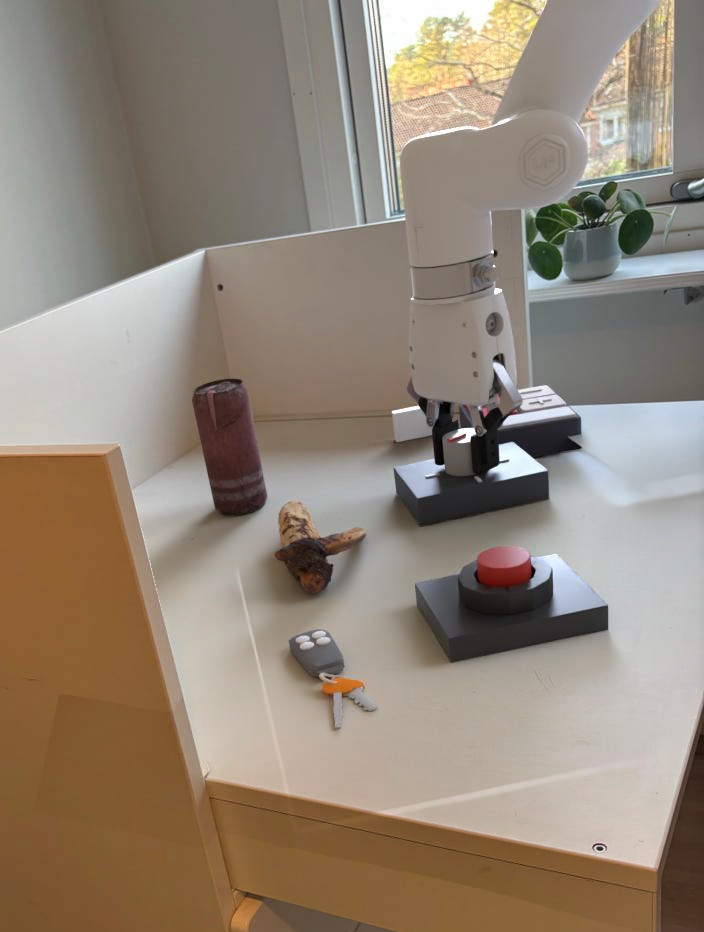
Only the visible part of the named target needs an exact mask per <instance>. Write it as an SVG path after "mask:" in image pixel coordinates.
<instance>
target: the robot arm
mask: <svg viewBox="0 0 704 932" xmlns="http://www.w3.org/2000/svg"><path fill="white" fill-rule="evenodd" d="M661 2H662V0H546V1H545V4H544V6H543V8H542V10H541V12H540V14H539V16H538V18H537V21H536V22H535V25H534V27H533V29H532V31H531V33H530V35H529V37H528V38H527V41H526V44H525V45H524V48H523V50H522V52H521V53H520V56H519V59H518V60H517V63H516V65H515V66H514V67H515V68H514V70H513V72H512V74H511V76H510V79H509V82H508V83H507V85H506V87H505V90H504V93H503V95H502V98H501V99H500V102H499V104H498V106H497V109H496V111H495V114H494V116H493V118H492V120H491V123H490V125H489V126H487V127H484V128H480V129H479V128H478V127H473V126H460V127H455V128H451V129H450V128H448V129H444V130H439V131H434V132H431V133H426V134H422V135H419V136H417V137H414V138H411V139H410V140H408V141H407V142H406V143H405V144H404V145H403V147H402V148H401V151H400V155H399V166H400V167H399V168H400V171H399V172H400V179H401V180H400V181H401V190H402V200H403V207H404V209H403V211H404V219H405V231H406V240H407V241H406V242H407V251H408V264H409V271H410V282H411V292H412V293H411V294H412V297H411V298H410V304H409V317H408V349H409V350H408V351H409V365H410V375H411V377H410V379H409V381H408V384H407V386H406V392H407V394H408V395H409V396H410V397H411V398H412V399H413V400H414V401H415V402H416V403H417V404H418V405H417V406H419V407H420V409H421V410H422V411H423V413H424V414H425V415H426V423H427V425H428V426H429V427H433V428H432V435H431V436H432V445H433V446H432V448H433V457H434V458H433V459H435V464H436V465H439V466H442V465H444V452H443V441H442V438H443V436H444V435H445V434H447V433H449V432H451V431H455V430H458V429H460V422H459V419H456V418H454V415H455V406H456V405H455V404H458V405H459V404H465V405H468V407H469V411H470V415H471V419H472V423H473V427H474V431H475V433H476V434H474V435H472V436H471V438H470V442H471V455H472V469H473V472H474V473H475V474H482V473H484V472H486V471H488V470H490V469H492V468H494V467H497V466H498V465H499V463H500V458H499V442H498V428H501V427H502V426H503V422H504V421H505V420H506V419H507V417H508V416H509V415H510V413H512V412H513V411H515V410H516V409H517V408H518V407H520V406H521V405H522V404H523V399H522V397H521V395H520V394H519V392H518V390H519V389H517V386H518V377H517V376H518V374H517V373H518V372H517V360H516V351H515V343H514V336H513V329H512V324H511V320H510V313H509V310H508V305H507V302H506V298H505V295H504V292H503V289H501V288H496V282H497V281H498V280H499V279H500V276H501V270H500V267H499V266H497V265H495V261H494V259H495V257H494V242H493V241H494V239H493V222H492V212H494V211H495V212H496V211H512V210H513V211H514V210H516V211H517V210H534V209H540V208H546V207H548V206H551V205H554V204H556V203H557V202H560V201H561V200H562V199H564V198H565V197H566V196H568V195H569V194H570V193H571V192H572V191H573V190H574V189H575V187H576V186H577V185H578V184H579V183H580V181H581V179H582V177H583V176H584V173H585V170H586V166H587V162H588V156H589V154H588V152H589V151H588V149H589V148H588V143H587V142H588V141H587V138H586V135H585V133H584V131H583V129H582V128H581V127H580V125H579V123H580V122H581V121H580V120H581V119H582V117H583V115H584V113H585V110H586V109H587V106H588V105H589V103H590V100H591V98H592V97H593V95H594V92H595V91H596V89H597V87H598V85H599V83H600V82H601V80H602V78H603V76H604V74H605V72H606V71H607V69H608V68H609V66H610V65H611V63H612V61H613V60H614V59H615V57H616V55H617V54H618V53H619V52H620V50H621V49H622V48H623V47H624V45H625V44H626V43H627V41H628V40H629V39H630V38H631V36H632V35H633V34H634V33H635V32H636V31H637V30H638V29H639V28H640V27H641V26H643V24H644V23H645V22H646V21H647V20H648V19H649V18H650V16H651V15H652V14H653V13H654V11H655V10H656V9H657V8H658V7H659V5H660V4H661ZM497 394H498V396H499V398H500V403H499V402H498V398H497ZM485 406H486V408H487V412H488V414H487V415H486V416H485V418H484V414H483V410H482V407H485Z"/></svg>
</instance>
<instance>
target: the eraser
mask: <svg viewBox="0 0 704 932" xmlns="http://www.w3.org/2000/svg"><path fill="white" fill-rule="evenodd" d="M391 418H392V419H391V420H392V426H393V435H394V440H395V442H396V443H400V442H405V441H410V440H411V441H412V440H416V439H421V438H426V437H430V436H432V428H433V427H429V426H428V425H427V423H426V415H425V414H424V413H423V411H422V410H421V409H420V407H419V405H416V406H410V407H405V408H400V409H396V410H391Z"/></svg>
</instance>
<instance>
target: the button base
mask: <svg viewBox="0 0 704 932" xmlns="http://www.w3.org/2000/svg"><path fill="white" fill-rule="evenodd" d="M531 574H532V575H531V578H530V579H529V580H528V581H526V582H524V583H523V584H519V585H514V586H509V587H490V586H487V585H484V584H481V583H480V582H479V580H478V571H477V559H475V560H473V561H472V562H470V563H468V564H466V565H464V566H463V567H462V568H461V570H460V572H459V573H457V574H452V575H447V576H443V577H437V578H433V579H430V580H424V581H419V582H415V583H414V591H415V601H416V606H417V608H418V610H419V611H420V613H421V615H422V617H423V619H424V620H425V622H426V623H427V625H428V627H429V629H430V631H431V632H432V633H433V635H434V637H435V638H436V640H437V642H438V644H439V645H440V647H441V649H442V650H443V652H444V654H445V655H446V657H447V658H448V660H449V662H450V663H451V664H452V663H457V662H461V661H466V660H467V661H468V660H471V659H476V658H480V657H486V656H491V655H496V654H500V653H506V652H511V651H514V650H519V649H524V648H529V647H533V646H538V645H543V644H547V643H553V642H559V641H563V640H566V639H571V638H577V637H582V636H585V635H591V634H595V633H599V632H605V631H608V630H609V604H608V603H607V602H606V601H605V600H604V599H603V598H602V597H601V596H600V595H599V594H598V593H597V592H596V591H595V590H594V589H593V588H592V587H591V586H590V585H589V584H588V583H587V582H586V581H585V580H584V579H583V578H582V577H581V576H580V575H579V574H578V573H577V571H575V570H574V569H573V568H571V566H570V565H569V564H568V563H567V562H566V561H565V560H564V559H563V558H562V557H561V556H560V555H559V554H558V553H556V552H555V553H550V554H546V555H542V556H537V557H536V556H534V555H531Z"/></svg>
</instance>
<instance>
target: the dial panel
mask: <svg viewBox="0 0 704 932" xmlns="http://www.w3.org/2000/svg"><path fill="white" fill-rule="evenodd" d="M499 458H500V463H499V465H498V466H497V467H494V468H492V469H490V470H488V471H486V472H484V473H482V474H475V475H470V476H453V475H449V474H447V473H446V472H445V464H444V465H442V466H439V465H436V464H435V459H434V458H430V459H426V460H421V461H418V462H417V461H416V462H412V463H408V464H403V465H398V466H393V468H392V469H393V477H394V484H395V485H394V486H395V494H396V495H397V496H398V498H399V499H400V500H401V502H402V503H403V504H404V506H405V507H406V509H407V510H408V511H409V513H410V515H411V516H412V517H413V519H414V520H415V521H416V523H417V524H418V525H419V527H424V525H425V526H428V525H433V523H434V524H438V523H437V522H439V523H442V522H443V523H444V522H447V520H448V521H453V520H456V519H462V518H466V517H472V516H475V515H480V514H481V515H482V514H485V513H490V512H494V511H500V510H504V509H509V508H512V507H518V506H523V505H527V504H532V503H536V502H542V501H546V500H550V483H549V482H550V481H549V480H550V479H549V478H550V477H549V470H548V469H547V468H546V467H544V466H543V465H542V464H541V463H540V462H538V461H537V460H536V459H535V458H534V457H531V456H530V455H528V454H527V453H526V452H525V451H524V450H522V449H521V448H520V447H519V446H517V445H516V444H515V443H514V442H510V443H505V444H500V445H499Z"/></svg>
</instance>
